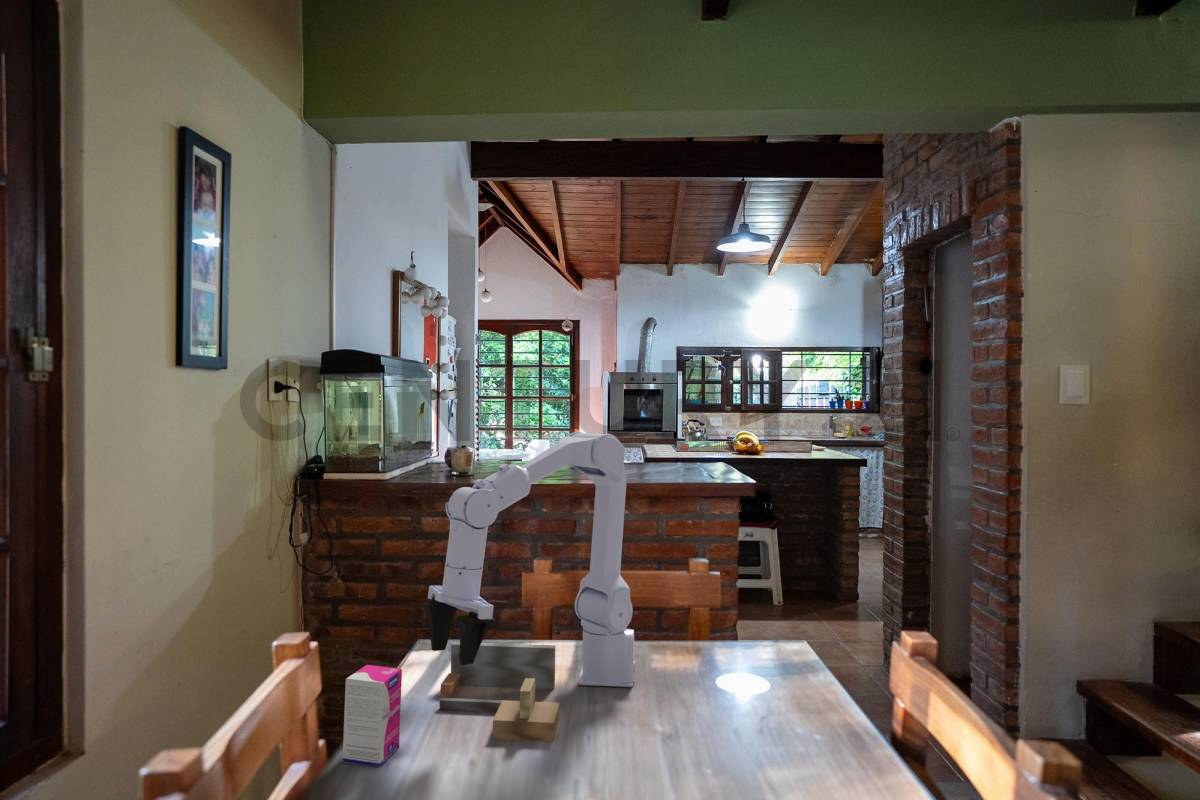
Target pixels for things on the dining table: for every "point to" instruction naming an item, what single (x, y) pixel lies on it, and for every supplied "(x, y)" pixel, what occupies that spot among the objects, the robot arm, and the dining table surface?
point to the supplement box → (372, 715)
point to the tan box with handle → (526, 717)
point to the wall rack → (497, 672)
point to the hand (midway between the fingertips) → (452, 656)
